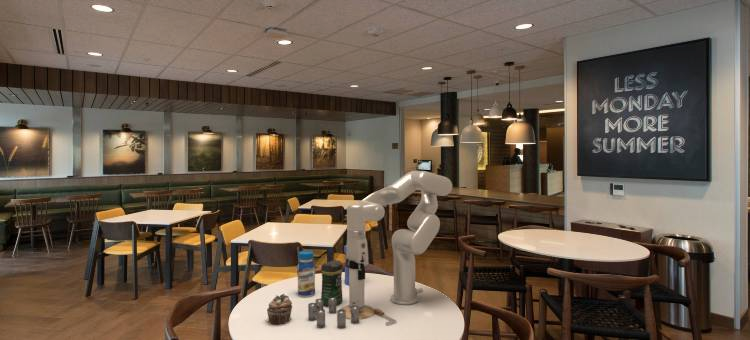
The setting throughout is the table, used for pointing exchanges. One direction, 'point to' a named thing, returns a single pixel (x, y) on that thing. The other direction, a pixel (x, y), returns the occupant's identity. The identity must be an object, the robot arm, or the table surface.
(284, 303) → the cupcake
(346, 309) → the round wooden board
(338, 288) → the coffee jar
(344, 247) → the water bottle
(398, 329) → the table surface
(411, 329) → the table surface
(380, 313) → the hook tool
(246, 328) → the table surface
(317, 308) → the spacer field
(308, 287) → the beverage bottle
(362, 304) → the travel mug
